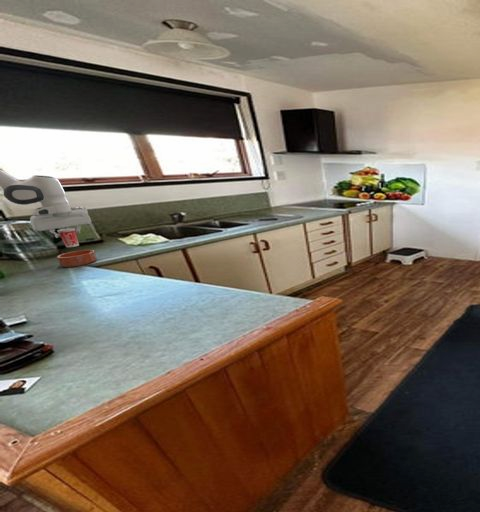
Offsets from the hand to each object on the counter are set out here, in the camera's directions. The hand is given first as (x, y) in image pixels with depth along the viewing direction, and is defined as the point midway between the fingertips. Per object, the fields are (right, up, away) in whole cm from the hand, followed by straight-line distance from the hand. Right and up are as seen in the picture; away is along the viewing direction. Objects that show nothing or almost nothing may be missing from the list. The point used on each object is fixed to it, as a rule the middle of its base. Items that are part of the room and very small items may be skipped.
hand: (68, 235), depth 140 cm
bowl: (0, -14, +5) cm, 15 cm away
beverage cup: (0, -6, +2) cm, 6 cm away
